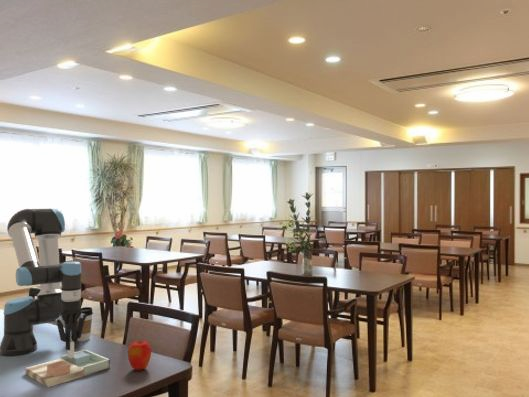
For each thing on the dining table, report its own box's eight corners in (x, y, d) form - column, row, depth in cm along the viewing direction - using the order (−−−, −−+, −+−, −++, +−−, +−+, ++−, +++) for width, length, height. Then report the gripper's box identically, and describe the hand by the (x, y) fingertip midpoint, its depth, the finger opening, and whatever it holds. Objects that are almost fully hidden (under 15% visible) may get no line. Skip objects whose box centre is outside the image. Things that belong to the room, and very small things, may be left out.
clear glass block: (68, 362, 191) (68, 355, 191) (82, 358, 195) (82, 351, 195) (76, 365, 187) (76, 358, 187) (89, 362, 192) (89, 354, 192)
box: (60, 364, 190) (60, 356, 190) (85, 357, 198) (85, 349, 198) (84, 376, 178) (84, 367, 178) (109, 368, 186) (109, 359, 186)
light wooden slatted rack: (25, 374, 179) (25, 367, 179) (60, 364, 190) (60, 358, 190) (48, 387, 167) (48, 380, 167) (84, 376, 178) (84, 369, 178)
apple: (122, 370, 184) (123, 340, 184) (140, 364, 191) (140, 335, 191) (138, 375, 178) (138, 344, 178) (155, 368, 186) (156, 339, 186)
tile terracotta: (46, 372, 174) (47, 365, 174) (62, 368, 179) (62, 360, 179) (54, 376, 170) (54, 368, 170) (70, 372, 175) (70, 364, 175)
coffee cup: (96, 338, 225) (96, 308, 225) (81, 343, 218) (81, 311, 218) (85, 336, 229) (85, 306, 229) (70, 340, 222) (70, 309, 222)
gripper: (60, 303, 181) (59, 363, 181) (90, 298, 191) (90, 355, 191) (51, 300, 186) (50, 359, 186) (81, 295, 196) (81, 351, 196)
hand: (70, 356), depth 188 cm, fingers closed
